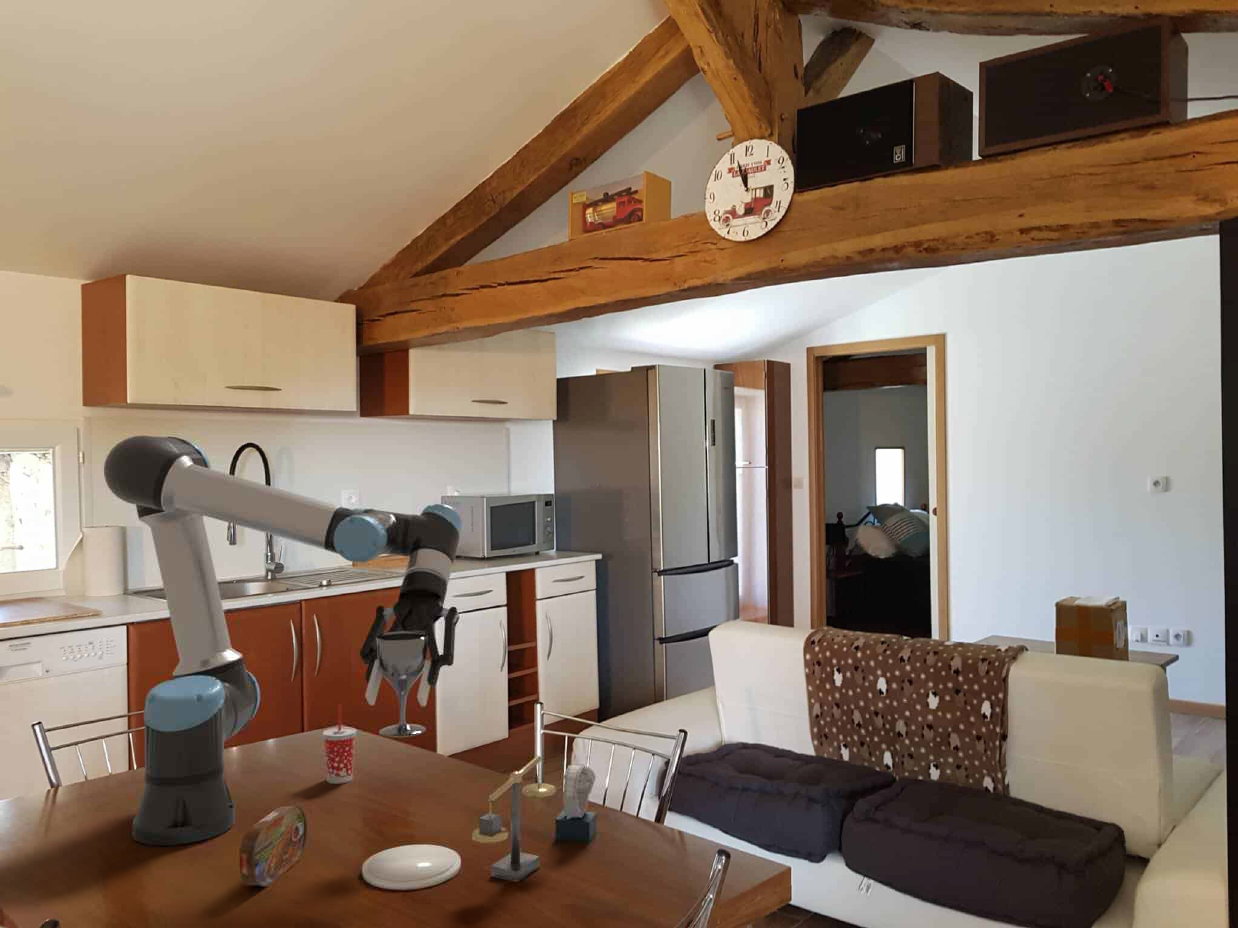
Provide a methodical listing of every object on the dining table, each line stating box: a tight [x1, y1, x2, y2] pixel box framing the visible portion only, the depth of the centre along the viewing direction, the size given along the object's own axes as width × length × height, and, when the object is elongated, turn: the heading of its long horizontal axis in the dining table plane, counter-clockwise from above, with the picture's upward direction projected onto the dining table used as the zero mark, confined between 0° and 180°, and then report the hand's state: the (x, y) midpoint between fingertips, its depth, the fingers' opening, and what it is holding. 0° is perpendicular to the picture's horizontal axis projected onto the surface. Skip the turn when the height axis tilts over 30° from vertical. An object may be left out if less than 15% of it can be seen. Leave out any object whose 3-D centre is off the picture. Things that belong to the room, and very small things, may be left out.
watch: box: [555, 763, 597, 843], centre depth 153 cm, size 6×8×11 cm
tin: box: [238, 805, 308, 887], centre depth 139 cm, size 15×3×8 cm, turn 171°
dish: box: [361, 844, 462, 891], centre depth 140 cm, size 14×14×1 cm
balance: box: [471, 755, 557, 883], centre depth 140 cm, size 18×5×15 cm, turn 153°
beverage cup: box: [322, 704, 357, 784], centre depth 181 cm, size 6×6×14 cm
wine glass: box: [376, 630, 429, 738], centre depth 152 cm, size 8×8×15 cm
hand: (395, 700), depth 148 cm, fingers closed on wine glass, 7 cm apart
